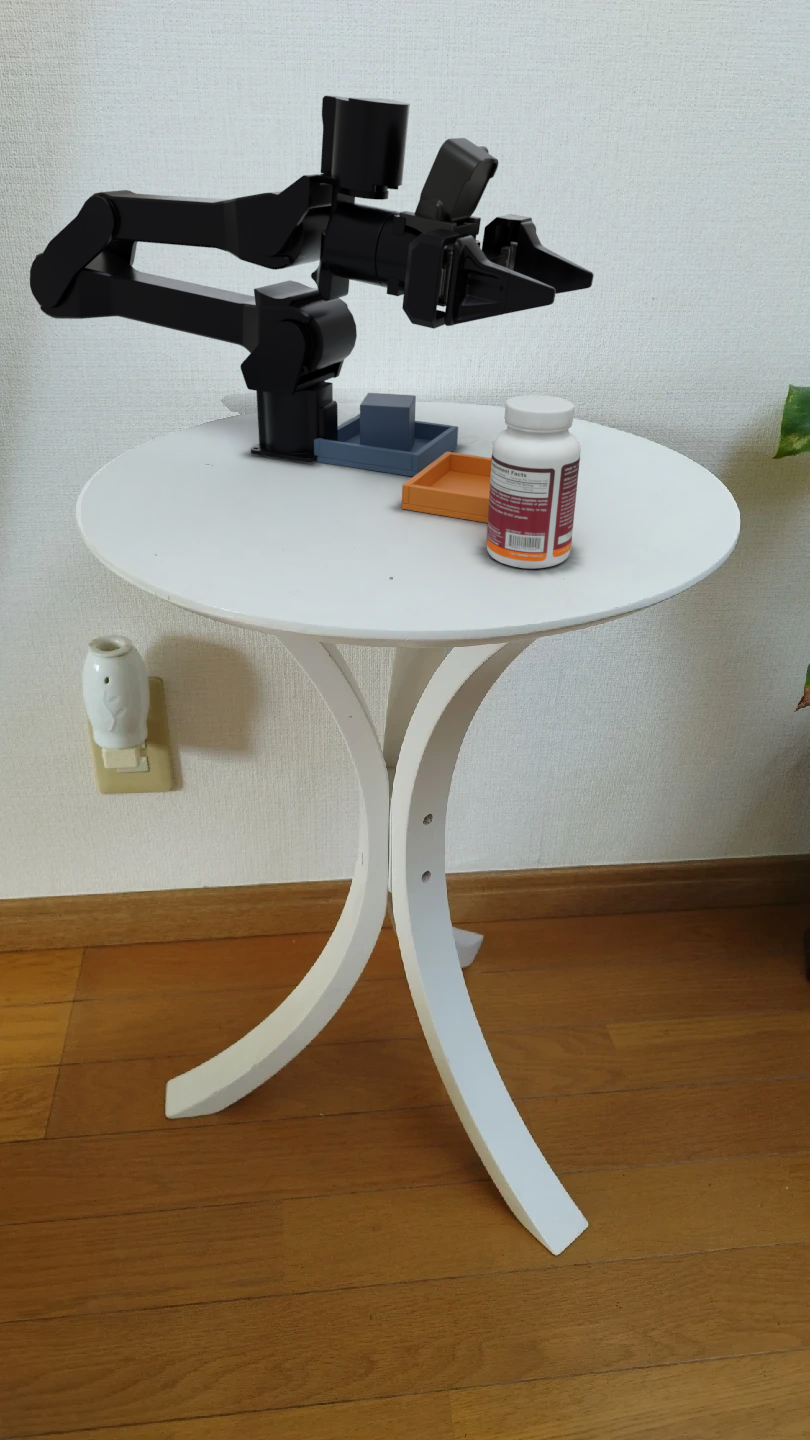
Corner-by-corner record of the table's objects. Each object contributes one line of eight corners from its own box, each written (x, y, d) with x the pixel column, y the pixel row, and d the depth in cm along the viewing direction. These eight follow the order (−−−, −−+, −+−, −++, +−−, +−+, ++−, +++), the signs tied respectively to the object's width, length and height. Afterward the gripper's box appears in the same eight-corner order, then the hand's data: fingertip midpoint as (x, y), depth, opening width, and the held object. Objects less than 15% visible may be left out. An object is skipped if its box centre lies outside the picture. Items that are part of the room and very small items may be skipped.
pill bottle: (540, 534, 78) (554, 388, 73) (586, 563, 74) (605, 409, 68) (469, 546, 76) (478, 396, 70) (512, 576, 71) (526, 418, 65)
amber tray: (401, 509, 82) (402, 484, 81) (445, 473, 91) (446, 451, 89) (521, 528, 79) (524, 504, 78) (556, 490, 87) (558, 467, 86)
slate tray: (314, 461, 93) (313, 439, 92) (360, 433, 101) (360, 413, 100) (417, 477, 89) (418, 455, 88) (457, 447, 97) (458, 426, 96)
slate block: (359, 454, 93) (359, 404, 91) (367, 440, 97) (367, 392, 94) (408, 457, 93) (409, 407, 90) (414, 443, 96) (415, 395, 94)
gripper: (344, 138, 71) (554, 175, 66) (452, 134, 85) (632, 164, 80) (332, 306, 77) (524, 351, 72) (435, 276, 91) (601, 312, 86)
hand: (574, 288), depth 77 cm, fingers open, 9 cm apart
